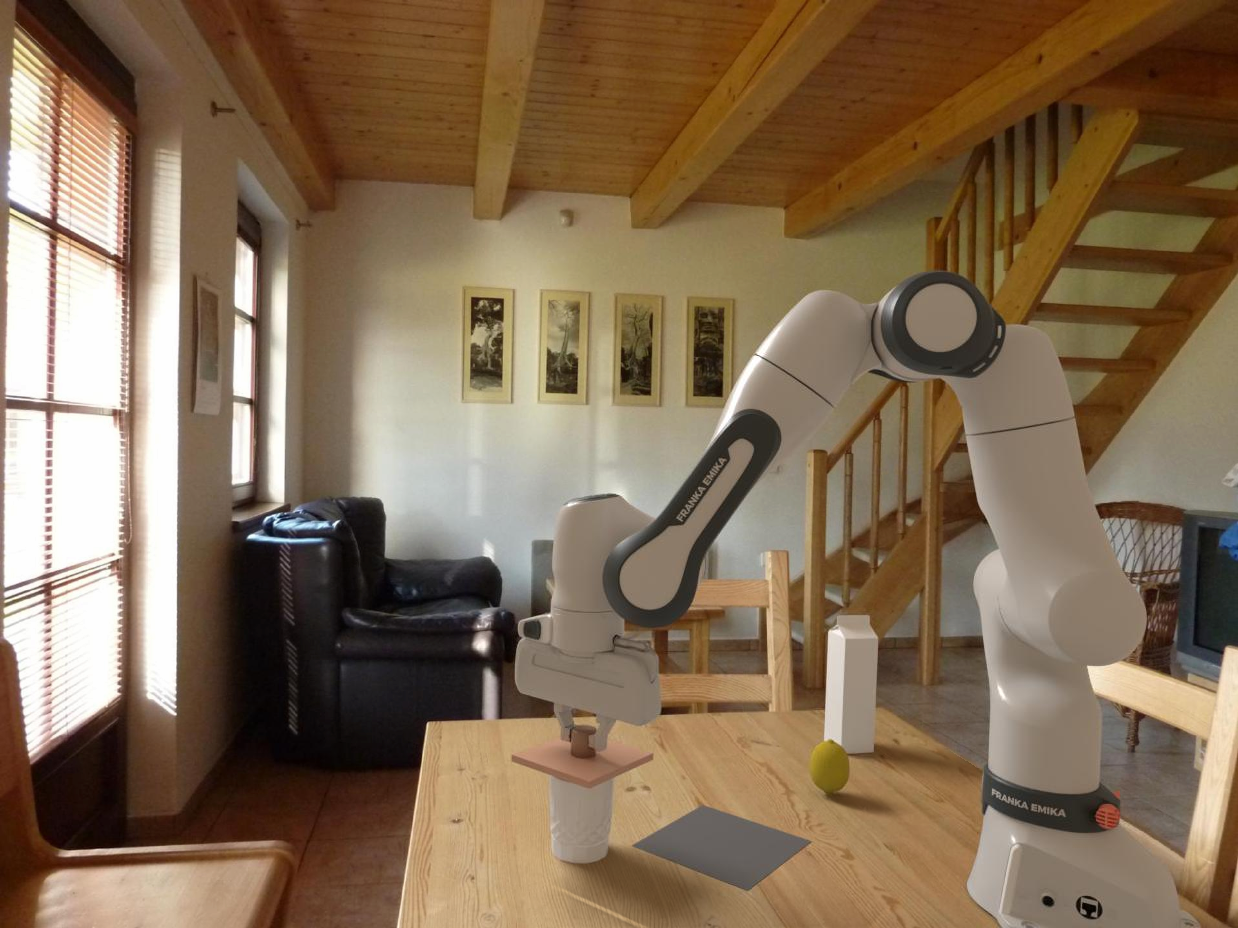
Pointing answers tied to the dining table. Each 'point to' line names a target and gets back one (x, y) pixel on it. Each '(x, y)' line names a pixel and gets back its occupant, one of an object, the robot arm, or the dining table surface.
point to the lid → (582, 758)
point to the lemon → (829, 767)
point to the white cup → (580, 820)
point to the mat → (723, 846)
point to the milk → (851, 684)
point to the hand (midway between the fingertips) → (583, 744)
